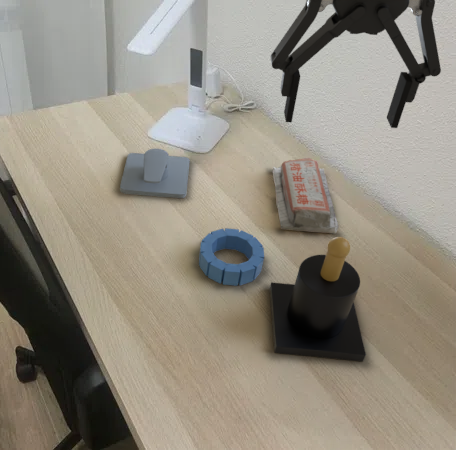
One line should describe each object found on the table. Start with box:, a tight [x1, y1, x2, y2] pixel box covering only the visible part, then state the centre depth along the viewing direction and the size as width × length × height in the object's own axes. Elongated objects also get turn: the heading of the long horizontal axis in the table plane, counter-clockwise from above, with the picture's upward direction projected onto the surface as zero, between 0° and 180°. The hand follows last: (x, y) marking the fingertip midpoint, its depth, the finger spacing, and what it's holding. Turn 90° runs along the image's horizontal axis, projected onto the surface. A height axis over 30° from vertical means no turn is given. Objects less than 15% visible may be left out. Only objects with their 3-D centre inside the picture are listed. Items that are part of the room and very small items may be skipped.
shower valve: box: [119, 148, 191, 199], centre depth 104 cm, size 12×6×15 cm
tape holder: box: [269, 236, 367, 362], centre depth 75 cm, size 12×12×16 cm
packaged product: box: [272, 157, 340, 234], centre depth 100 cm, size 18×5×10 cm
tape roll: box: [198, 227, 265, 287], centre depth 88 cm, size 10×10×3 cm
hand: (339, 120), depth 73 cm, fingers open, 13 cm apart
